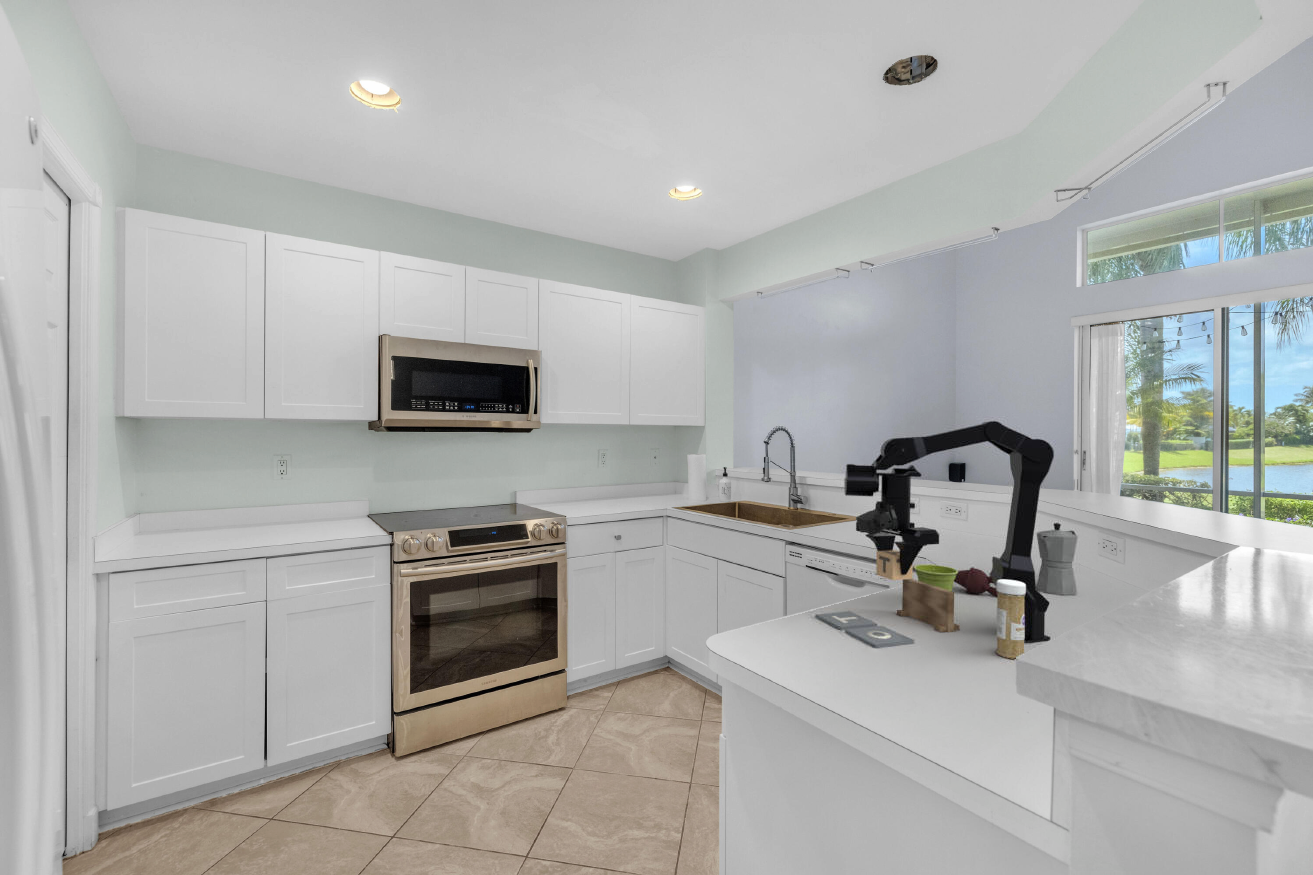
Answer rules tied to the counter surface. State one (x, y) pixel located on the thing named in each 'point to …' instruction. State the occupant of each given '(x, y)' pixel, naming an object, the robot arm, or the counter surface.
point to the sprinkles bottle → (1010, 618)
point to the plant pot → (936, 575)
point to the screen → (928, 605)
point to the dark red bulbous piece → (975, 581)
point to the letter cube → (891, 565)
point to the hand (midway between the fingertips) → (894, 571)
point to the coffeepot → (1057, 561)
